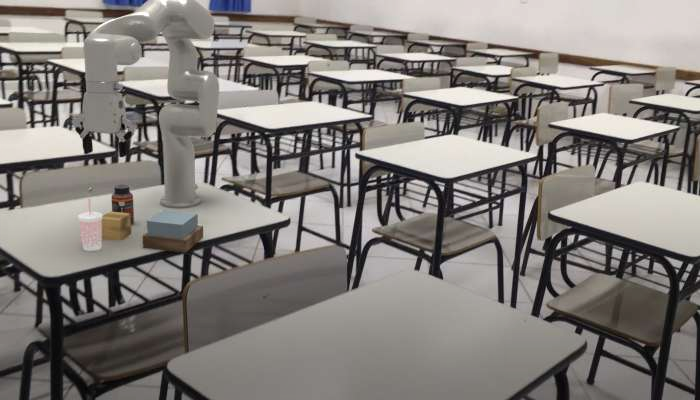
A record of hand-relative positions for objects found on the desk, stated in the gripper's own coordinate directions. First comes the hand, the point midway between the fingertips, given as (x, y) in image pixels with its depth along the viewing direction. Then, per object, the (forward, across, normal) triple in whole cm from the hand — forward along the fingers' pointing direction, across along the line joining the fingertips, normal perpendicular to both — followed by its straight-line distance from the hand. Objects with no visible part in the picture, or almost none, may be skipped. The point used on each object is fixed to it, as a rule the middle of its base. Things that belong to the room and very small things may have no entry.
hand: (105, 154), depth 178 cm
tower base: (+25, -15, -6) cm, 30 cm away
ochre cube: (+25, +2, -7) cm, 26 cm away
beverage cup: (+25, +4, +3) cm, 25 cm away
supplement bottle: (+25, +5, -17) cm, 30 cm away
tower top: (+21, -15, -6) cm, 27 cm away
